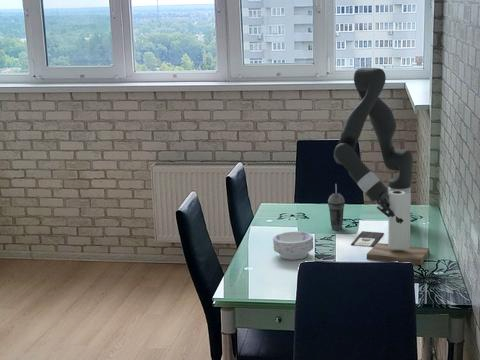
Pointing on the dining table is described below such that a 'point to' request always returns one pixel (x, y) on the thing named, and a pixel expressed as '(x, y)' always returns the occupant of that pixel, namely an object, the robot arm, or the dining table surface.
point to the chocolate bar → (367, 239)
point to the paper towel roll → (397, 231)
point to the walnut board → (398, 254)
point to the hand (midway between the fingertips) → (403, 221)
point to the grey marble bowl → (293, 244)
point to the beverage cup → (336, 210)
